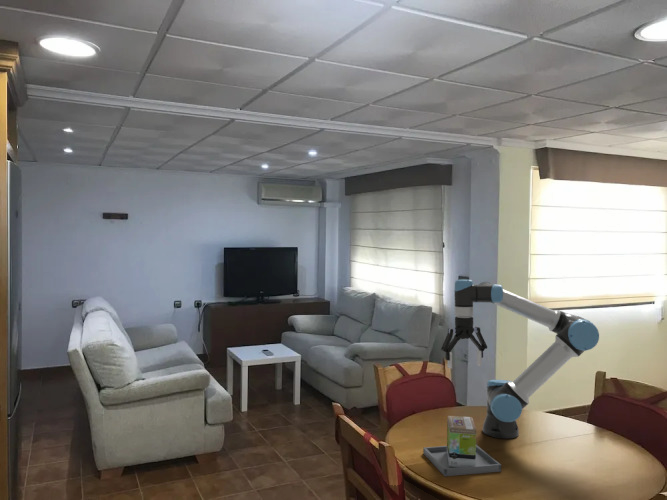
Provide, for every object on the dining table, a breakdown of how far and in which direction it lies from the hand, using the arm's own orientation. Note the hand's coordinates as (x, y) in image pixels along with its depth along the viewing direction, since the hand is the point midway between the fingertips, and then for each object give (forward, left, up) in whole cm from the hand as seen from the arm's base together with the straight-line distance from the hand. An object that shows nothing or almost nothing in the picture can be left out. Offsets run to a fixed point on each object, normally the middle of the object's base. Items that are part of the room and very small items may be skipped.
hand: (464, 366), depth 227 cm
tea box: (+11, +20, -31) cm, 38 cm away
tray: (+11, +20, -31) cm, 39 cm away
